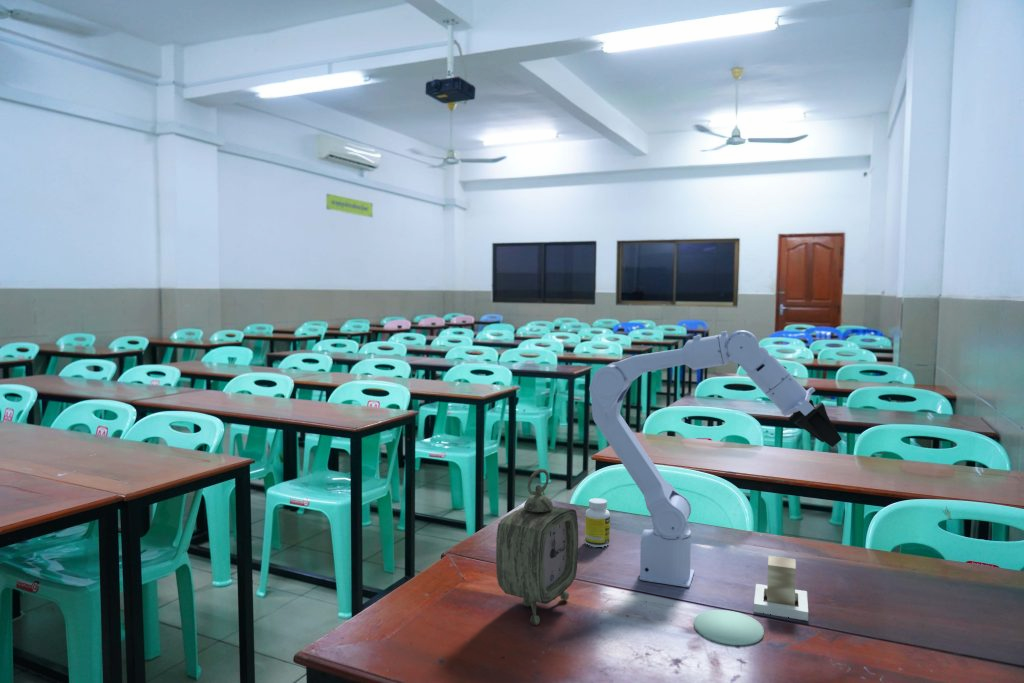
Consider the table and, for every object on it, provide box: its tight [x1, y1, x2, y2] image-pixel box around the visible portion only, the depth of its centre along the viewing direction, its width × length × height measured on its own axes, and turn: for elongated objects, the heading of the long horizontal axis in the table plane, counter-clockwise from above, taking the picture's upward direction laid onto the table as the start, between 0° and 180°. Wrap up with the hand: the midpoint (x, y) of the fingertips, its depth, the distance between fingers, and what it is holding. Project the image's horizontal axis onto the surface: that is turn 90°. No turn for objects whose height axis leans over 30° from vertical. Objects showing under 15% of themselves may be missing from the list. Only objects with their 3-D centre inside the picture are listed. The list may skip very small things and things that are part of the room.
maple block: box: [766, 555, 797, 606], centre depth 121 cm, size 4×4×8 cm
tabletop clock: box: [495, 468, 579, 626], centre depth 119 cm, size 14×9×25 cm, turn 148°
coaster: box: [693, 609, 765, 646], centre depth 113 cm, size 11×11×1 cm
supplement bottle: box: [584, 497, 611, 548], centre depth 151 cm, size 5×5×10 cm
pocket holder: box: [753, 583, 809, 622], centre depth 121 cm, size 9×9×2 cm
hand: (831, 440), depth 121 cm, fingers open, 7 cm apart
